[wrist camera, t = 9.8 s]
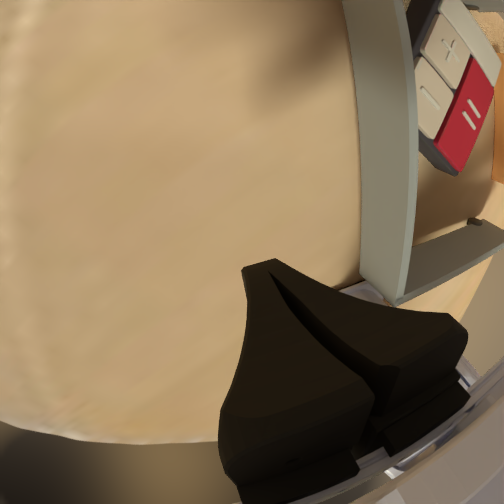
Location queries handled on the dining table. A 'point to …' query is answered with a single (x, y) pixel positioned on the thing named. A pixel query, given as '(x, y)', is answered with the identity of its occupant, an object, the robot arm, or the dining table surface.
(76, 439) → the dining table surface
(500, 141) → the bar
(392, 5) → the grey u-shaped barrier
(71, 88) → the dining table surface
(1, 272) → the dining table surface
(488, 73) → the calculator
